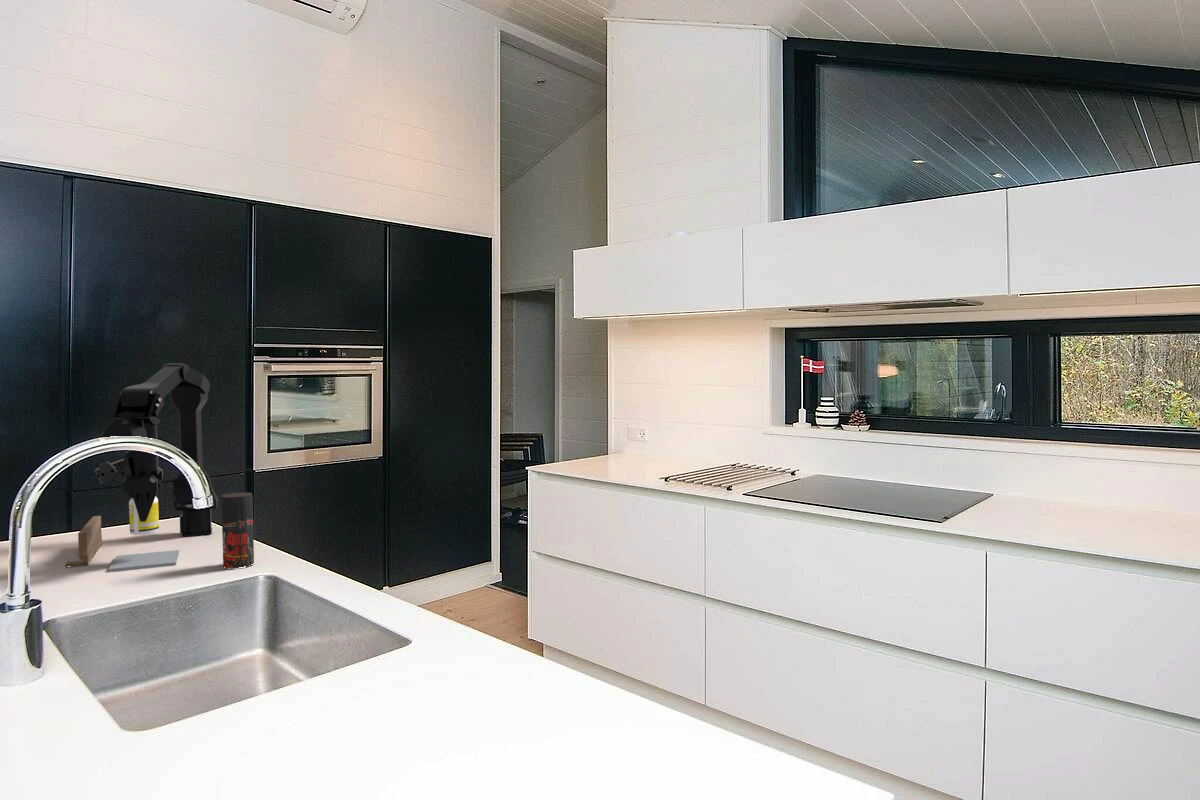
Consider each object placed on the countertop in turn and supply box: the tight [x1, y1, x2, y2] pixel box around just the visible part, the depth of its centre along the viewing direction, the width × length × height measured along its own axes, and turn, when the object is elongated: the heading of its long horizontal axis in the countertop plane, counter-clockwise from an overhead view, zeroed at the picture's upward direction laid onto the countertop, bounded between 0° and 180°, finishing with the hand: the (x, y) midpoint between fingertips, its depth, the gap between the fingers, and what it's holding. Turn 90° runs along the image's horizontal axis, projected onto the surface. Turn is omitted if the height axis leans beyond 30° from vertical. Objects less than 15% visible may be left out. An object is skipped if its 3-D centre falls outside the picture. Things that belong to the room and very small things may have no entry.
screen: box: [64, 515, 103, 568], centre depth 169 cm, size 4×20×7 cm, turn 26°
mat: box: [108, 549, 180, 573], centre depth 164 cm, size 12×12×1 cm
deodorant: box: [221, 492, 255, 569], centre depth 161 cm, size 6×6×15 cm
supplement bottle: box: [128, 496, 160, 536], centre depth 164 cm, size 5×5×10 cm
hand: (144, 518), depth 164 cm, fingers closed on supplement bottle, 5 cm apart
